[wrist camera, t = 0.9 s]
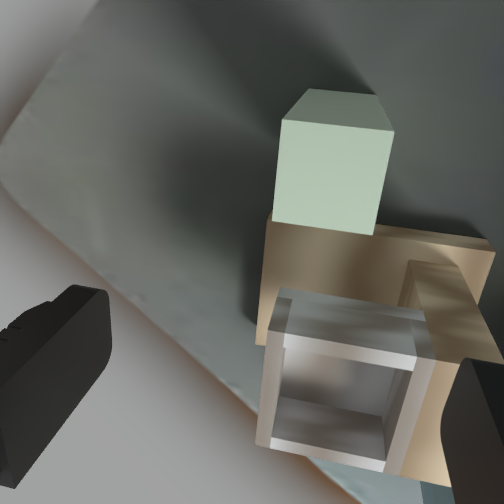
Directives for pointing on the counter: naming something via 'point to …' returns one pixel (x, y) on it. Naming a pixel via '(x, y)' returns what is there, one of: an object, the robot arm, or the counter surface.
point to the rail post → (332, 161)
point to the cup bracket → (367, 342)
